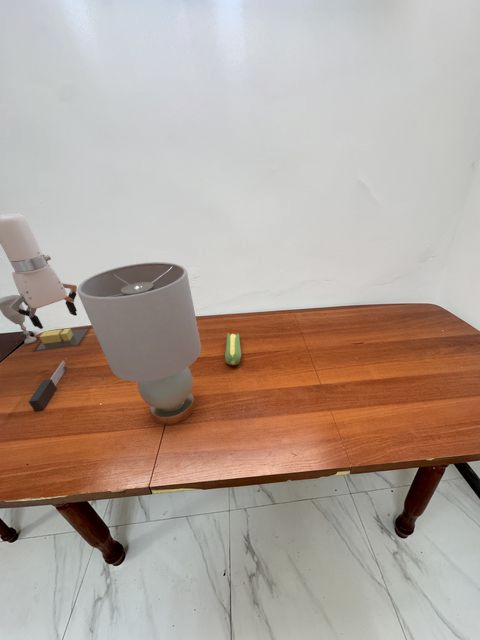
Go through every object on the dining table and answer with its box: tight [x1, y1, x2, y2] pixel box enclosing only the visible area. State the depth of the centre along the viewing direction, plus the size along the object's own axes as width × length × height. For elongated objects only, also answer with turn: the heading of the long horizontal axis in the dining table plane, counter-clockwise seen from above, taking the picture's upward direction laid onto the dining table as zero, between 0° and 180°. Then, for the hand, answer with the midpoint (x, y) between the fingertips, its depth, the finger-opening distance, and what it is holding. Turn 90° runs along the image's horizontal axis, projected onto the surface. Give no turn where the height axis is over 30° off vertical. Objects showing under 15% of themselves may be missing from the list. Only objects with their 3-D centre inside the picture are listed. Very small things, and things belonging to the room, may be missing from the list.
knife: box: [28, 360, 68, 412], centre depth 86 cm, size 2×20×4 cm, turn 10°
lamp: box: [76, 261, 202, 426], centre depth 67 cm, size 20×20×35 cm
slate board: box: [35, 328, 89, 351], centre depth 109 cm, size 14×12×2 cm
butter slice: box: [61, 327, 73, 341], centre depth 108 cm, size 2×4×3 cm, turn 11°
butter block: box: [39, 328, 63, 344], centre depth 107 cm, size 6×4×3 cm, turn 100°
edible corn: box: [224, 331, 242, 366], centre depth 96 cm, size 5×20×5 cm, turn 5°
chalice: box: [0, 294, 37, 344], centre depth 105 cm, size 7×7×18 cm
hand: (57, 320), depth 88 cm, fingers open, 9 cm apart
